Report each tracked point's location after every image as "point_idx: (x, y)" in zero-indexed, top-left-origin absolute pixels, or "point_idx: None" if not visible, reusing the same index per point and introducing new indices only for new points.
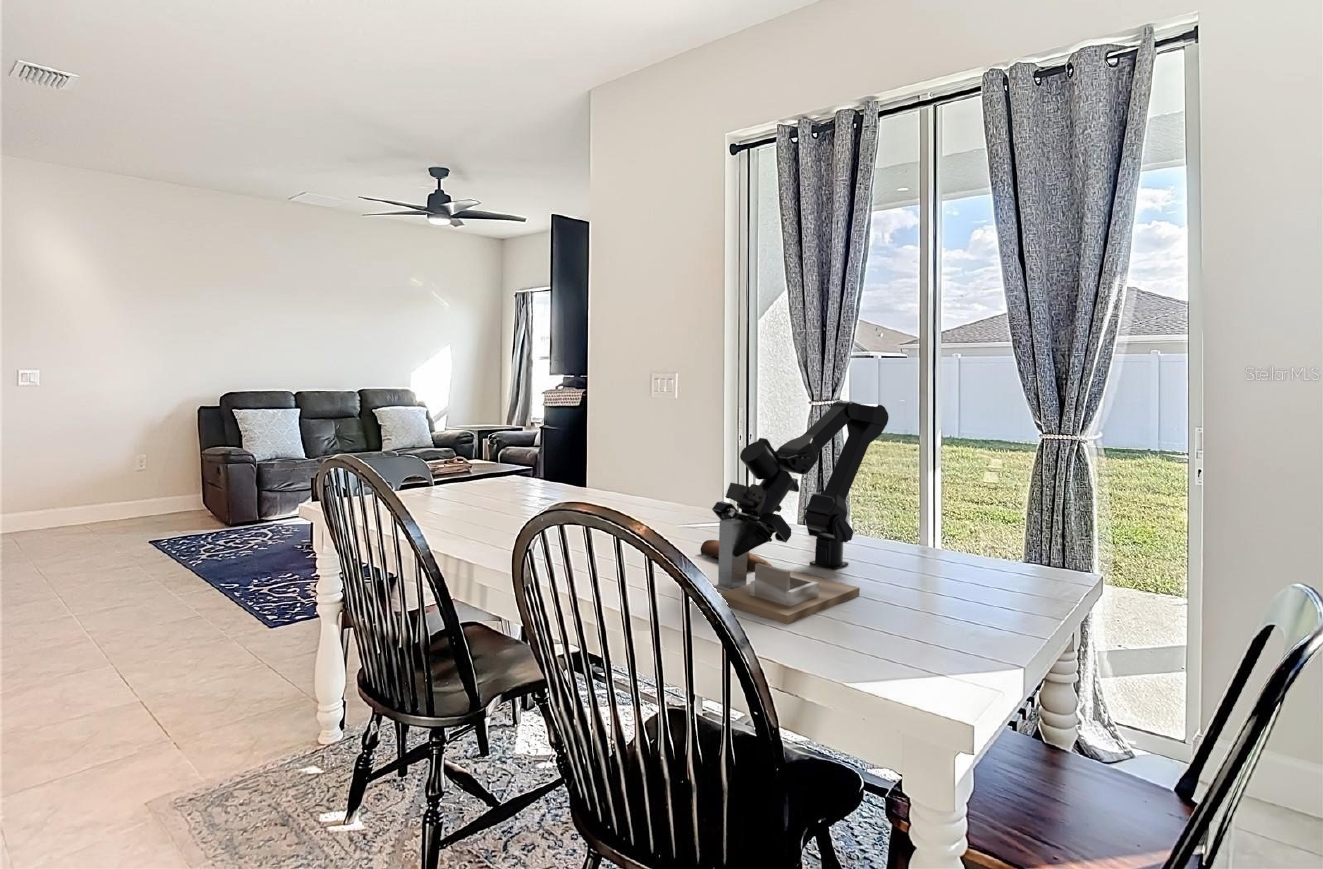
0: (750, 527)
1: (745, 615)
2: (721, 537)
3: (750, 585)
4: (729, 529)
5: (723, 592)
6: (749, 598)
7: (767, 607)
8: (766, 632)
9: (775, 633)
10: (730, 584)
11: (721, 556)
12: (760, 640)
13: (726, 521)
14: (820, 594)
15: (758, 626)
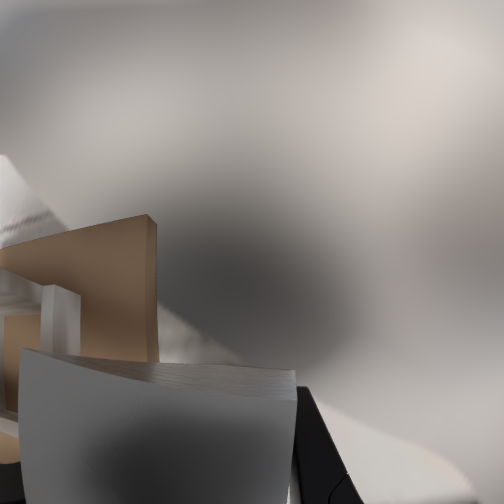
0: (4, 476)
1: (62, 224)
2: (262, 379)
3: (61, 287)
4: (108, 364)
5: (142, 245)
6: (67, 268)
7: (21, 254)
8: (15, 200)
9: (5, 209)
10: (218, 364)
11: (269, 372)
12: (15, 173)
13: (159, 429)
14: (4, 433)
15: (29, 206)
